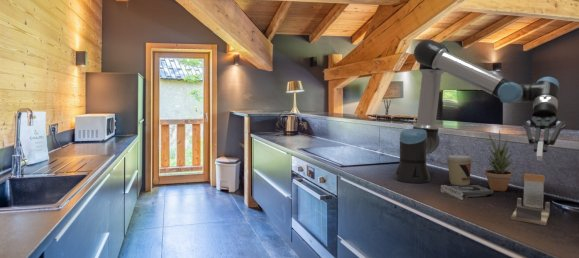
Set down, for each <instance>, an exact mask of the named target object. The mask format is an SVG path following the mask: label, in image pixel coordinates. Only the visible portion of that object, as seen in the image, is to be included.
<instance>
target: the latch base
mask: <svg viewBox="0 0 579 258" xmlns="http://www.w3.org/2000/svg"><path fill="white" fill-rule="evenodd" d="M522 202H523V200H522V198H521V197H517V200H516V207H515V210H514V211H513V213H512V214H511V216H510V220H513V221H518V222H522V223H523V222H525V223H530V224H536V225H540V226H547V223H548V219H549V217H550V211H551V209H550V206H551V203H550V202H549V201H545V202H544V203H545V205H544V207H545V208H544V209H543V210H541V209H534V208H528V207H523V205H522V204H523V203H522Z"/></svg>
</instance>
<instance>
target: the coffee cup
mask: <svg viewBox="0 0 579 258" xmlns="http://www.w3.org/2000/svg"><path fill="white" fill-rule="evenodd" d="M447 164H448V165H447V166H448V167H447V168H448V175H449V176H448V178H449V184H450V185H452V186H468V185H470V182H471V167H472V166H471V165H472V157H471V156H470V155H466V154H465V155H464V154H452V155H448V157H447Z"/></svg>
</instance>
